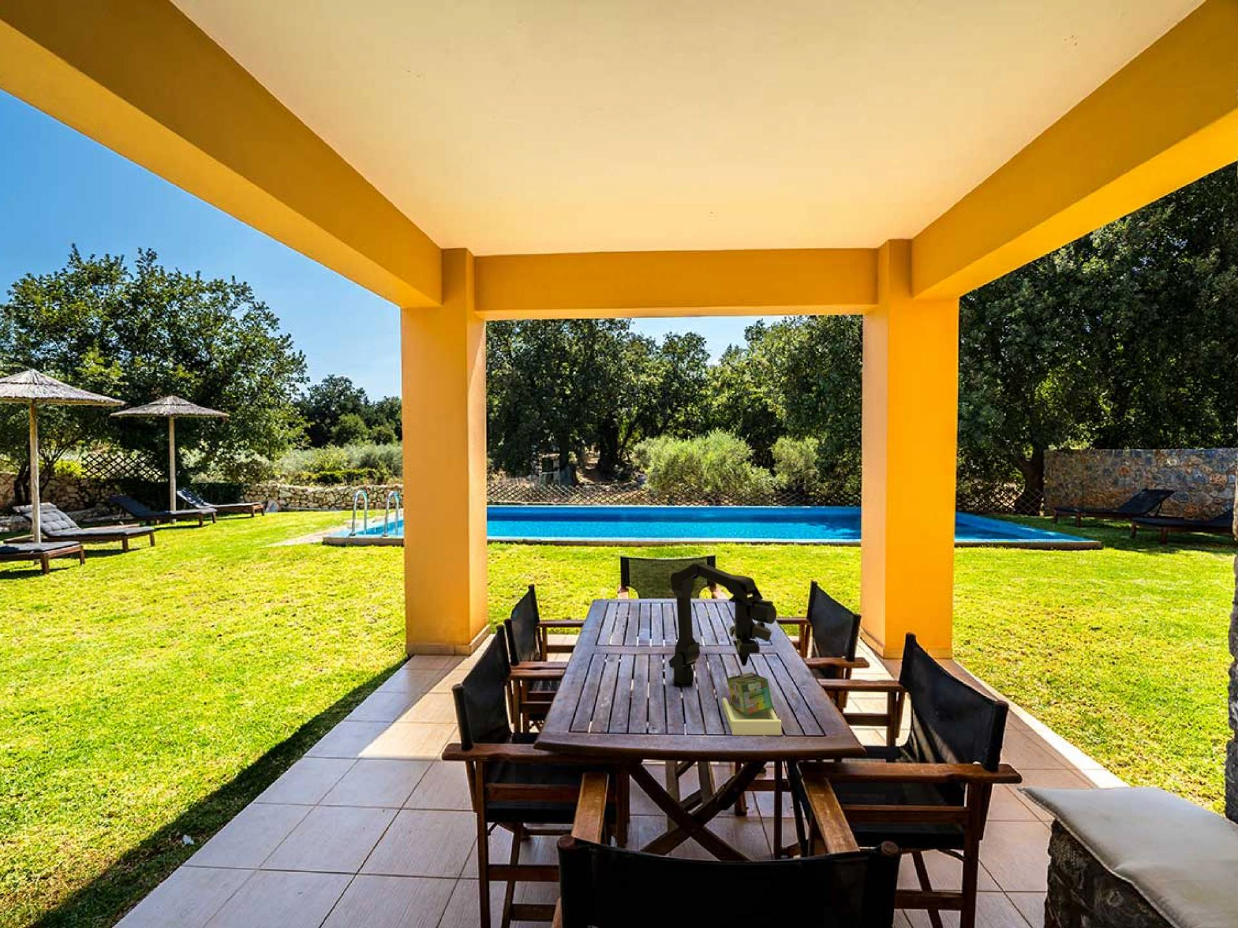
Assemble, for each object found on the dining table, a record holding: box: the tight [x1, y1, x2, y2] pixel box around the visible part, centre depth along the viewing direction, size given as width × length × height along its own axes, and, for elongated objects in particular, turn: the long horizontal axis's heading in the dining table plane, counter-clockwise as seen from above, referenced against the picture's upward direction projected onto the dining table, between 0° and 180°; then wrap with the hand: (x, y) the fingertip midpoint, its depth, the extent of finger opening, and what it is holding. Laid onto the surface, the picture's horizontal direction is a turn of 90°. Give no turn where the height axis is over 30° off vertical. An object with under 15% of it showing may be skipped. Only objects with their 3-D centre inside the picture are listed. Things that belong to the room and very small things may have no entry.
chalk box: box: [726, 672, 774, 715], centre depth 182 cm, size 9×9×15 cm
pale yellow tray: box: [722, 697, 782, 736], centre depth 179 cm, size 14×18×4 cm
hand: (743, 665), depth 188 cm, fingers closed
